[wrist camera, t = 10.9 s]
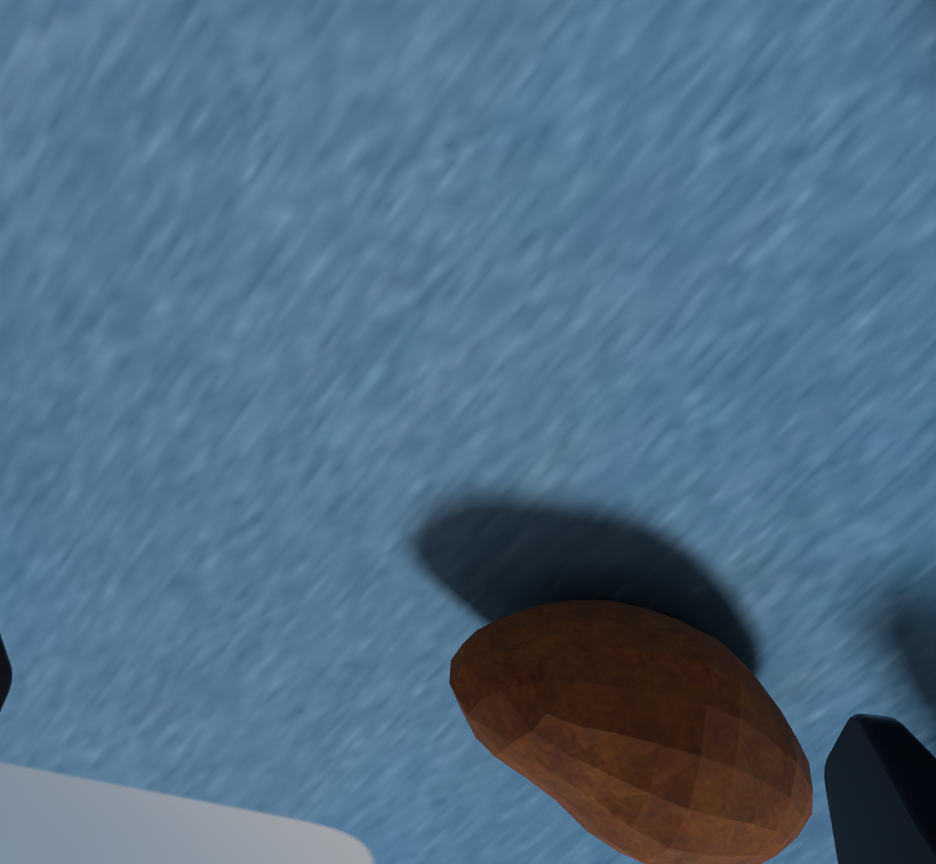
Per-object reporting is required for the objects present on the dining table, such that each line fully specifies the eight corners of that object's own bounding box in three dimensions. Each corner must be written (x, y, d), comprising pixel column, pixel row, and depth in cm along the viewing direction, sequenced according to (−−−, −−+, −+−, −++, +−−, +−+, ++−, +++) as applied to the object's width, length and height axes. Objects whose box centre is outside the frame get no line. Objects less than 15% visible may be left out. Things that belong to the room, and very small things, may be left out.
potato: (510, 512, 23) (503, 703, 17) (848, 647, 25) (937, 855, 19) (427, 643, 26) (400, 839, 20) (733, 753, 28) (782, 958, 22)
